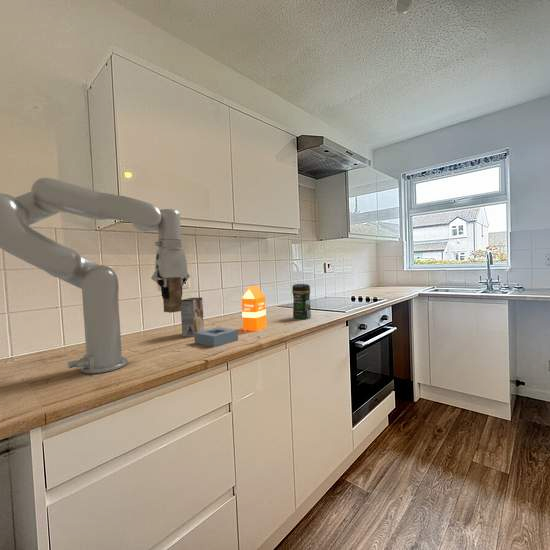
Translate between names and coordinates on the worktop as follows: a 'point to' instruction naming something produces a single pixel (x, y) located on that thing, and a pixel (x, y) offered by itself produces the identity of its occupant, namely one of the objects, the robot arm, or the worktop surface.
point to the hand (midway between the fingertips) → (172, 297)
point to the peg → (173, 296)
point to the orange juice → (253, 309)
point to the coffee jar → (301, 301)
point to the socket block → (216, 336)
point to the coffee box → (192, 316)
